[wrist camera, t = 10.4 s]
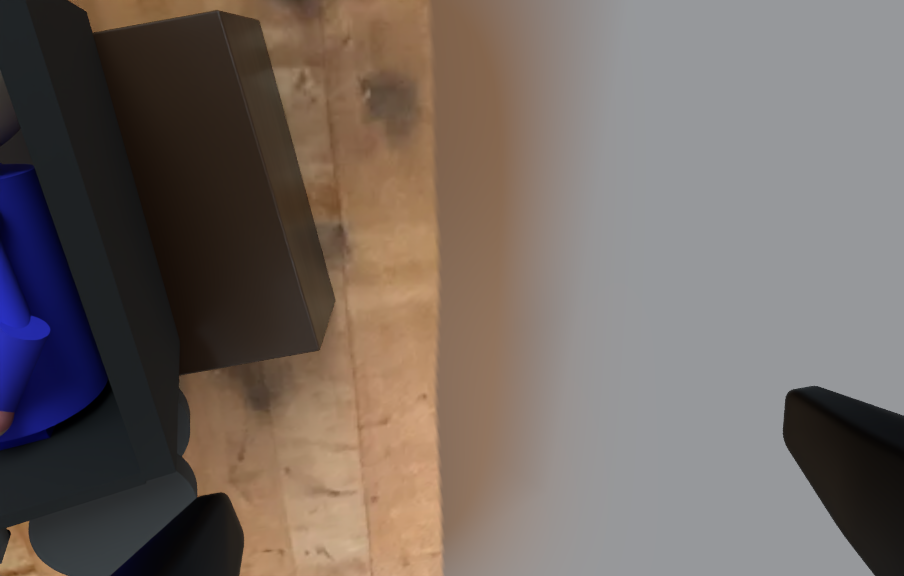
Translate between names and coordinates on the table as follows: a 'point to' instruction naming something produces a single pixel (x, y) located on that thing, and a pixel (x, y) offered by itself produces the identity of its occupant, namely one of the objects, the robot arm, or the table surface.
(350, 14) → the table surface
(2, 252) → the character figurine
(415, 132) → the table surface
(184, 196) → the walnut block
